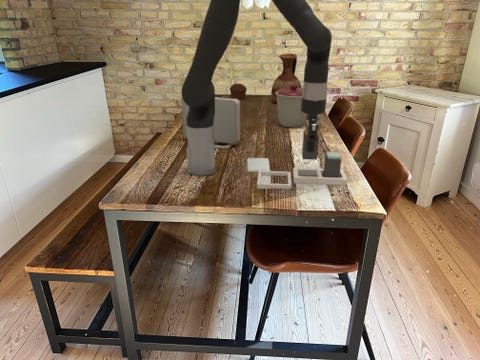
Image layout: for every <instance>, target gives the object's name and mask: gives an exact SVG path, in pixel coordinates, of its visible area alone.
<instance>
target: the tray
mask: <svg viewBox="0 0 480 360" xmlns="http://www.w3.org/2000/svg"><path fill="white" fill-rule="evenodd" d="M291 172H292V171H276V170H270V171H259V172H257V173H258V174H257V180H256V181H257V182H256V189H259V190H260V189H261V190H262V189H263V190H271V189H284V190H291V189H292V175H291V174H292V173H291ZM272 176H277V177H278V176H281V177H282V176H283V177H287V183H272Z"/></svg>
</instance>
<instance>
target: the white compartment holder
mask: <svg viewBox="0 0 480 360" xmlns="http://www.w3.org/2000/svg"><path fill="white" fill-rule="evenodd" d="M292 168H293V169H292V170H293V171H292V175H293V177H292V178H293V184H303V185H304V184H305V185H324V186H325V185H331V186H348V185H347V184H348V177H347V175H346V173H345V171H344V169H340V174H339V178H333V177H323V173H324V168H309V167H308V168H307V167H306V168H305V167H292Z"/></svg>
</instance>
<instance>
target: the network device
mask: <svg viewBox="0 0 480 360" xmlns="http://www.w3.org/2000/svg"><path fill="white" fill-rule="evenodd" d="M180 99H181V100H180V101H181V102H180V103H181V115H182V116H181V117H182V129H183V136H184V137H185V138H187V139H188V137H187V123H186V118H187V115H188V112H189V106H188V105H187V104H186V103H185V102H184V100H183V98H182V97H181V98H180ZM240 139H241V101H239V100H238V99H232V98H230V97H229V98H227V97H217V96H215V116H214V148H219V149H229V148H231V147H232V146H233V145H234V144H237V143H238V142H239V141H240ZM218 142H219V143H226V144H227V145H218V144H217V143H218Z"/></svg>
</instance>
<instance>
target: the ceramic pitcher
mask: <svg viewBox="0 0 480 360" xmlns="http://www.w3.org/2000/svg"><path fill="white" fill-rule="evenodd" d="M278 57H279V59H280V60H281V61H282V72H281V74H279V75H278V76H277V77H276V78H275V80H274V81H273V83H272V86H271V92H270V93H271V99H272V100H273V101H274V102H276V103H277V95H276V93H275V92H276V91H278V90H279V89H282V88H291V84H292V83H296V84H297V85H298V87H297V88H303V86H302V84H301V82H300V80H299V79H298V76H296V75H295V73H296V68H297V63H298V55H297V54H295V53H294V54H293V53H283V54H281V55H279V56H278Z"/></svg>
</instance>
